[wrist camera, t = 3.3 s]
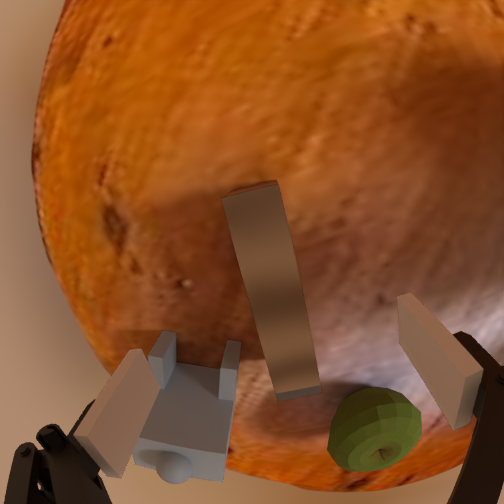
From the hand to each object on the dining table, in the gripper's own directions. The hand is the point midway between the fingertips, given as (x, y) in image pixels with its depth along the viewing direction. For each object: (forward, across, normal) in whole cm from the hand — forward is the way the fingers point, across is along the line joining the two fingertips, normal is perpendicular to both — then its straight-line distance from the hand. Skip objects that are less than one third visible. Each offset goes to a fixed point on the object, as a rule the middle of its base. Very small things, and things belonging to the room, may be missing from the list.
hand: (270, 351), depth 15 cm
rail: (+15, 0, -2) cm, 16 cm away
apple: (+16, +7, -21) cm, 27 cm away
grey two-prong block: (+15, -10, -11) cm, 22 cm away
